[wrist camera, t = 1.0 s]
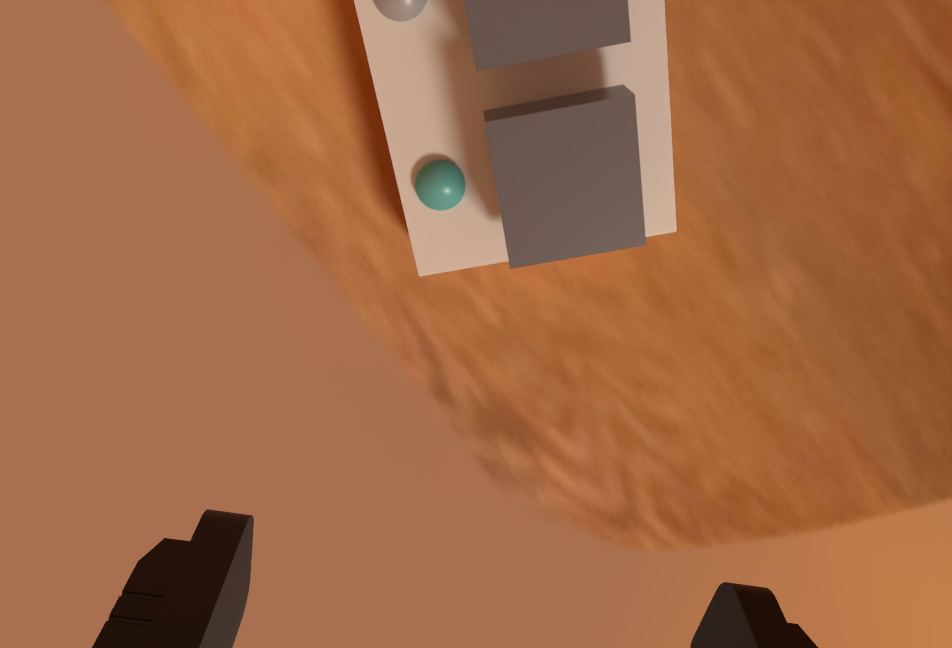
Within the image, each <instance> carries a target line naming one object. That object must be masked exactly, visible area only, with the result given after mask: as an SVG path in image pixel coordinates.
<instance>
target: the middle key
mask: <svg viewBox="0 0 952 648" xmlns="http://www.w3.org/2000/svg"><path fill="white" fill-rule="evenodd" d="M464 2H465V8H466V14H467V20H468V26H469V31H470V37H471V43H472V49H473V55H474V61H475V66H476V71H481V70H486V69H492V68H497V67H502V66H507V65H513V64H518V63H523V62H528V61H533V60H539V59H544V58H549V57H554V56H560V55H565V54H570V53H575V52H580V51H586V50H591V49H596V48H601V47H607V46H612V45H617V44H622V43H627V42H631V35H630V22H629V8H628V0H464Z"/></svg>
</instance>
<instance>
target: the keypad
mask: <svg viewBox="0 0 952 648" xmlns="http://www.w3.org/2000/svg"><path fill="white" fill-rule="evenodd" d="M354 3H355V7H356V12H357V16H358V20H359V24H360V28H361V33H362V37H363V41H364V45H365V50H366V54H367V58H368V62H369V67H370V71H371V75H372V79H373V83H374V88H375V92H376V96H377V100H378V105H379V109H380V113H381V117H382V122H383V126H384V130H385V134H386V139H387V143H388V147H389V151H390V155H391V160H392V164H393V168H394V172H395V177H396V181H397V185H398V189H399V194H400V198H401V202H402V206H403V210H404V215H405V219H406V223H407V227H408V232H409V236H410V240H411V244H412V249H413V253H414V257H415V261H416V266H417V270H418V274H419V277H420V276H425V275H431V274H437V273H443V272H448V271H454V270H460V269H466V268H471V267H477V266H483V265H488V264H494V263H500V262H506V261H509V259H508V253H507V248H506V242H505V236H504V230H503V224H502V218H501V213H500V207H499V201H498V195H497V189H496V183H495V178H494V172H493V166H492V160H491V154H490V148H489V143H488V137H487V131H486V125H485V119H484V112H483V111H484V110H489V109H495V108H500V107H505V106H511V105H516V104H521V103H527V102H532V101H537V100H543V99H548V98H553V97H558V96H564V95H569V94H574V93H580V92H585V91H590V90H596V89H601V88H606V87H612V86H617V85H622V84H623V85H624V86H626V87H627V88H628V89H629V90H630V91H632V92H633V93H634V94H635V102H636V116H637V129H638V143H639V156H640V169H641V183H642V196H643V209H644V223H645V236H646V237H649V236H655V235H661V234H666V233H672V232H677V229H676V210H675V191H674V173H673V154H672V135H671V116H670V97H669V79H668V60H667V41H666V22H665V3H664V0H628V8H629V22H630V35H631V42H627V43H622V44H617V45H612V46H607V47H601V48H596V49H591V50H586V51H580V52H575V53H570V54H565V55H560V56H554V57H549V58H544V59H539V60H533V61H528V62H523V63H518V64H513V65H507V66H502V67H497V68H492V69H486V70H481V71H476V66H475V61H474V55H473V49H472V43H471V37H470V31H469V26H468V20H467V14H466V8H465V2H464V0H354Z"/></svg>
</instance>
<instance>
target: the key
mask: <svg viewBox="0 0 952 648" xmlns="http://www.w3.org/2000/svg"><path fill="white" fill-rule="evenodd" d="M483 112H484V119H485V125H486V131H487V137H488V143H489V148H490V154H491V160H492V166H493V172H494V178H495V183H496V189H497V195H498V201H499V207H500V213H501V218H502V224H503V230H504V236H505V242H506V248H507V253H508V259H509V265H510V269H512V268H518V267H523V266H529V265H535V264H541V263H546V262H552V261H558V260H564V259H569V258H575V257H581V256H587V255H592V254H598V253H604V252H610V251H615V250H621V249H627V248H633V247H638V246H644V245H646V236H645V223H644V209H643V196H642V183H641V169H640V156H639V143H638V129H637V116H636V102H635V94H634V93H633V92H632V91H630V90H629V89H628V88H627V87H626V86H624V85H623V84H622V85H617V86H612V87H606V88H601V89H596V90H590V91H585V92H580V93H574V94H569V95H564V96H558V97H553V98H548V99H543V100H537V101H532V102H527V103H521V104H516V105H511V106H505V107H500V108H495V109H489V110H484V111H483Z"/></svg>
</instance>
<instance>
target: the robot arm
mask: <svg viewBox="0 0 952 648" xmlns="http://www.w3.org/2000/svg"><path fill="white" fill-rule="evenodd" d="M253 520H254V519H253V516H252V515H244V514H237V513H230V512H223V511H216V510H208V509H207V510H206V511H205V512H204V514H203V515H202V517H201V519H200V521H199V523H198V526H197V528H196V530H195V532H194V534H193V536H192V538H191V541H183V540H176V539H168V538H164V539H163V540H162V541H161V542H160V543H159V544H158V545H156V546H155V547H154V548H153V549H152V550H151V551H149V552H148V553H147V554H146V555H145V556H144V557H142V559H140V560H139V561H138V562H137V564H136V567H135V568H134V570H133V572H132V574H131V575H130V578H129V579H128V581H127V583H126V585H125V587H124V589H123V591H122V595H121V596H119V598H118V600H117V602H116V604H115V606H114V608H113V609H112V611H111V613H110V616H109V620H108V621H106V623H105V624H104V626H103V628H102V630H101V632H100V634H99V636H98V638H97V639H96V641H95V643H94V645H93V647H92V648H232V647H233V644H234V641H235V638H236V635H237V632H238V629H239V626H240V623H241V620H242V617H243V613H244V610H245V606H246V601H247V596H248V591H249V585H250V573H251V558H252V557H251V556H252V541H253V540H252V539H253V525H254V521H253ZM691 648H818V647H817V646H816V645H815V644H814V642H813V641H812V640H811V639H810V638H809V637H808V635H807V634H806V633H805V632H804V631H803V630H802V629H801V627H800V626H799V625H798V624H793V623H787V622H786V619H785V617H784V615H783V613H782V611H781V608H780V607H779V604H778V602H777V600H776V598H775V596H774V594H773V593H772V592H771V591H770V590H769V589H768V588H763V587H756V586H749V585H742V584H734V583H727V582H724V583H722V584H721V585H720V586H719V587H718V589H717V590H716V592H715V594H714V597H713V598H712V600H711V602H710V604H709V606H708V609H707V611H706V613H705V615H704V617H703V619H702V621H701V623H700V625H699V627H698V629H697V631H696V633H695V635H694V637H693V639H692V642H691Z"/></svg>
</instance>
